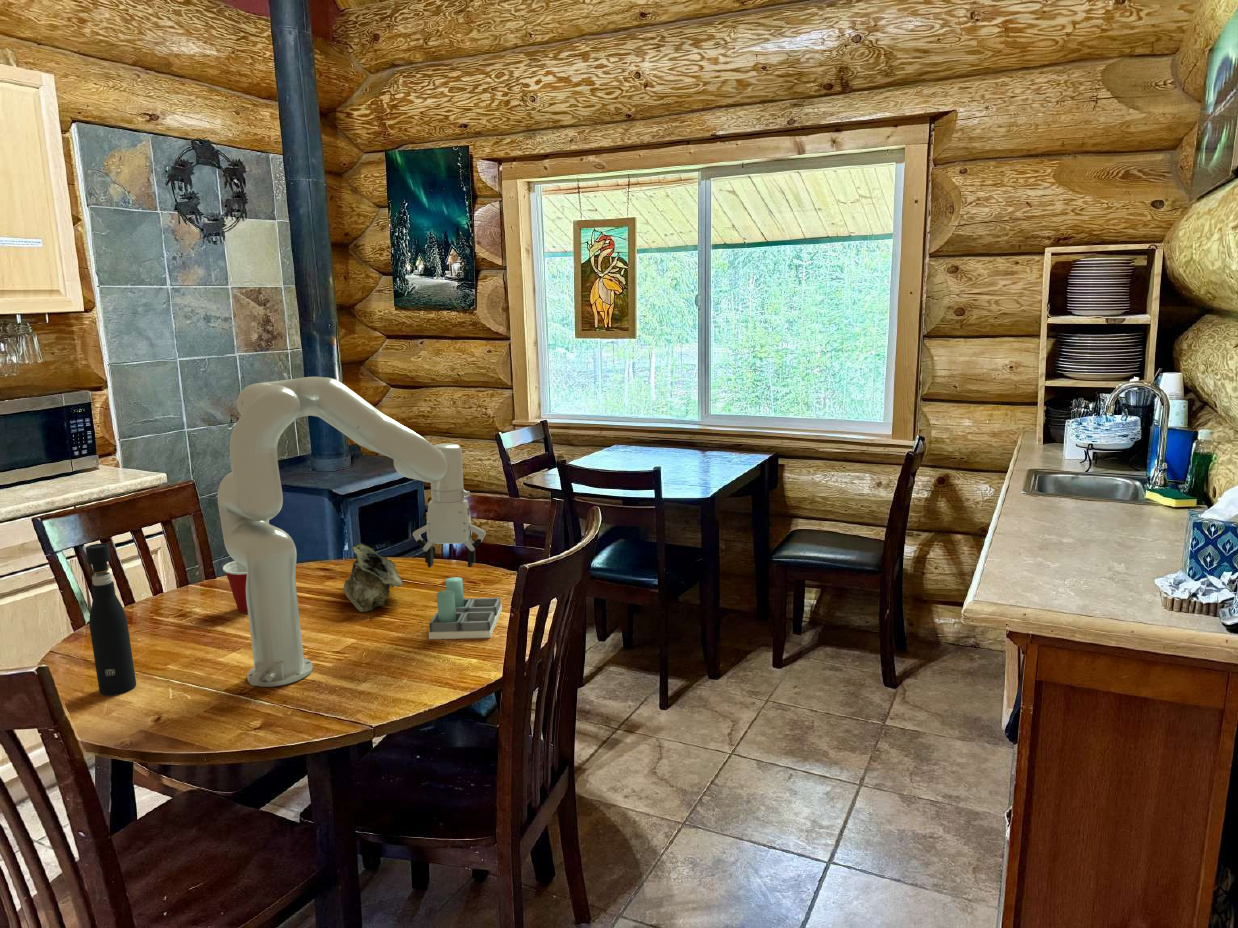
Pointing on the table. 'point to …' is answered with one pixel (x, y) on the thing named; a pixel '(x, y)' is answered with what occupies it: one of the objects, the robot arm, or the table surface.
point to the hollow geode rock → (370, 579)
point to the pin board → (464, 617)
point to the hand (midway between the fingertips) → (450, 565)
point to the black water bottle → (109, 628)
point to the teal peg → (456, 590)
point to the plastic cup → (237, 583)
